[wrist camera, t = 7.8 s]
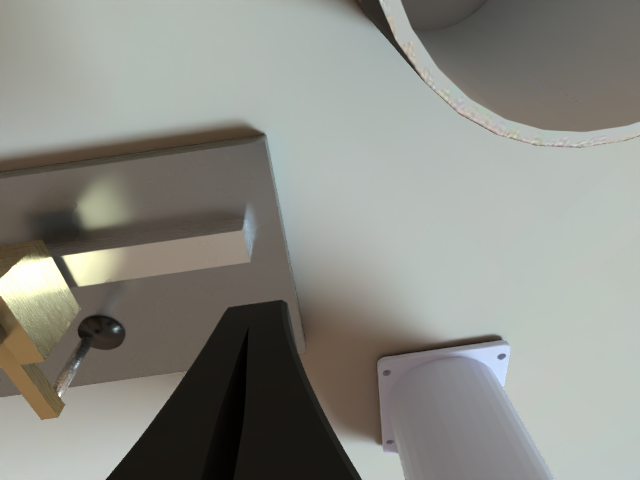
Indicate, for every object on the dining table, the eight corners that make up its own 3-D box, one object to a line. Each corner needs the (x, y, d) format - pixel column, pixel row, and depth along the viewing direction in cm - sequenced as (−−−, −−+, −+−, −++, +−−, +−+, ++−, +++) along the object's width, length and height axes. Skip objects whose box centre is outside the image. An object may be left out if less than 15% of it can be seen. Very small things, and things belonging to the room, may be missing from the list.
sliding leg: (116, 344, 20) (71, 431, 16) (64, 351, 20) (7, 441, 16) (54, 227, 17) (-23, 300, 12) (-8, 236, 17) (-106, 312, 12)
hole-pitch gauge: (305, 340, 23) (311, 437, 18) (-74, 394, 23) (-180, 508, 18) (265, 134, 17) (256, 190, 12) (-253, 207, 17) (-495, 297, 11)
